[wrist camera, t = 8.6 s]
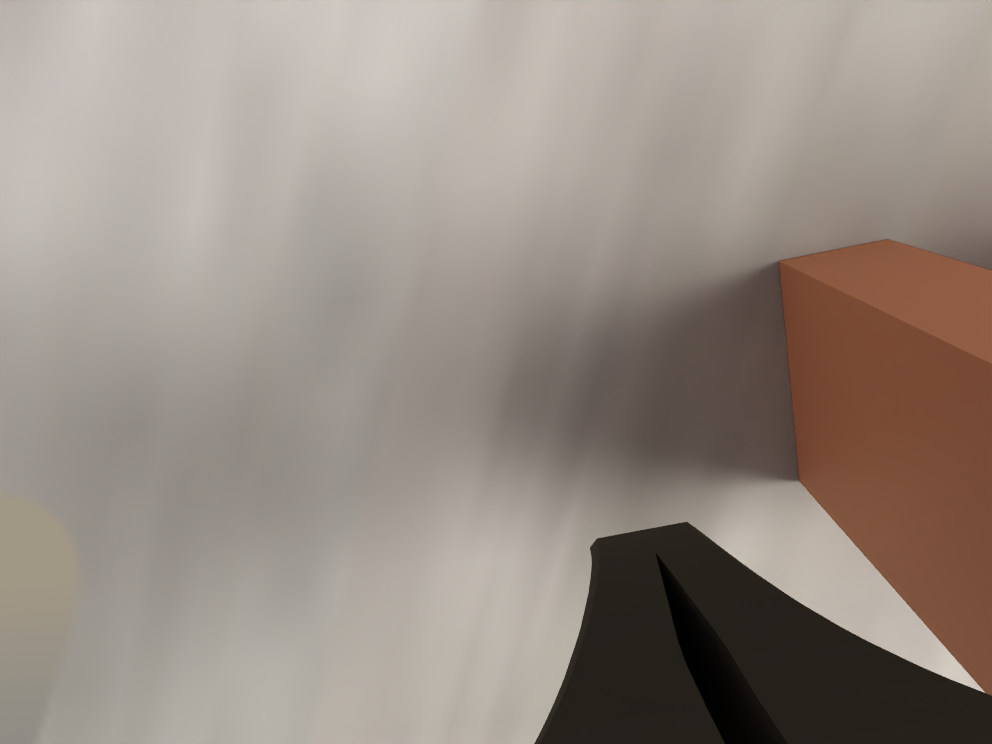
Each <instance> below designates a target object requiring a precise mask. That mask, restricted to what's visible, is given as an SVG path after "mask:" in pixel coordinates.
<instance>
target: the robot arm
mask: <svg viewBox="0 0 992 744" xmlns="http://www.w3.org/2000/svg"><path fill="white" fill-rule="evenodd" d="M590 550H591V556H592V571H591V580H590V587H589V594H588V598H587V603H586V607H585V611H584V616H583V620H582V625H581V629H580V632H579V636H578V639H577V642H576V645H575V648H574V651H573V654H572V657H571V660H570V663H569V666H568V669H567V672H566V675H565V678H564V680H563V683H562V685H561V688H560V690H559V693H558V695H557V698H556V700H555V702H554V705H553V707H552V709H551V711H550V713H549V715H548V718H547V720H546V722H545V724H544V726H543V728H542V730H541V732H540V734H539V736H538V738H537V740H536V742H535V744H992V696H991V695H989V694H986V693H984V692H981V691H978V690H976V689H973V688H971V687H968V686H966V685H963V684H960V683H958V682H955V681H953V680H950V679H948V678H945V677H943V676H941V675H938V674H936V673H934V672H931V671H929V670H927V669H924V668H922V667H920V666H918V665H916V664H914V663H911V662H909V661H907V660H905V659H903V658H901V657H899V656H897V655H895V654H893V653H891V652H889V651H886V650H884V649H882V648H880V647H878V646H876V645H874V644H872V643H870V642H868V641H866V640H864V639H862V638H860V637H858V636H856V635H855V634H853V633H851V632H849V631H847V630H845V629H843V628H842V627H840V626H838V625H836V624H835V623H833V622H831V621H830V620H828V619H826V618H824V617H823V616H821V615H819V614H818V613H816V612H814V611H813V610H811V609H809V608H807V607H806V606H804V605H802V604H801V603H799V602H798V601H796V600H794V599H793V598H791V597H790V596H788V595H787V594H785V593H784V592H782V591H781V590H779V589H778V588H777V587H775V586H774V585H772V584H771V583H769V582H768V581H766V580H765V579H763V578H762V577H760V576H759V575H757V574H756V573H755V572H753V571H752V570H751V569H749V568H748V567H746V566H745V565H744V564H742V563H741V562H740V561H738V560H737V559H736V558H734V557H733V556H732V555H730V554H729V553H728V552H726V551H725V550H724V549H722V548H721V547H720V546H718V545H717V544H716V543H715V542H713V541H712V540H711V539H709V538H708V537H707V536H705V535H704V534H703V533H702V532H700V531H699V530H698V529H696V528H695V527H693V526H692V525H691V524H689V523H688V522H684V523H678V524H673V525H667V526H662V527H657V528H651V529H646V530H641V531H635V532H630V533H624V534H619V535H614V536H608V537H603V538H598V539H596V541H595V542H594V543H593V545H592V546H591V547H590Z"/></svg>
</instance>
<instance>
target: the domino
mask: <svg viewBox="0 0 992 744" xmlns="http://www.w3.org/2000/svg"><path fill="white" fill-rule="evenodd" d="M779 267H780V278H781V288H782V299H783V310H784V320H785V331H786V342H787V352H788V363H789V374H790V384H791V395H792V406H793V416H794V427H795V438H796V448H797V459H798V470H799V480H800V482H801V484H802V485H803V486H804V487H805V488H806V489H807V490H808V492H809V493H810V494H811V495H812V496H813V497H814V498H815V500H816V501H817V502H818V503H819V504H820V505H821V506H822V507H823V509H824V510H825V511H826V512H827V513H828V514H829V515H830V517H831V518H832V519H833V520H834V521H835V522H836V523H837V525H838V526H839V527H840V528H841V529H842V530H843V531H844V532H845V534H846V535H847V536H848V537H849V538H850V539H851V540H852V542H853V543H854V544H855V545H856V546H857V547H858V548H859V550H860V551H861V552H862V553H863V554H864V555H865V556H866V557H867V559H868V560H869V561H870V562H871V563H872V564H873V565H874V567H875V568H876V569H877V570H878V571H879V572H880V573H881V575H882V576H883V577H884V578H885V579H886V580H887V581H888V582H889V584H890V585H891V586H892V587H893V588H894V589H895V590H896V592H897V593H898V594H899V595H900V596H901V597H902V598H903V600H904V601H905V602H906V603H907V604H908V605H909V606H910V607H911V609H912V610H913V611H914V612H915V613H916V614H917V615H918V617H919V618H920V619H921V620H922V621H923V622H924V623H925V625H926V626H927V627H928V628H929V629H930V630H931V631H932V632H933V634H934V635H935V636H936V637H937V638H938V639H939V640H940V642H941V643H942V644H943V645H944V646H945V647H946V648H947V650H948V651H949V652H950V653H951V654H952V655H953V656H954V657H955V659H956V660H957V661H958V662H959V663H960V664H961V665H962V667H963V668H964V669H965V670H966V671H967V672H968V673H969V675H970V676H971V677H972V678H973V679H974V680H975V681H976V682H977V684H978V685H979V686H980V687H981V688H982V689H983V690H984V692H985V693H986V694H989V695H991V696H992V270H988V269H985V268H982V267H978V266H975V265H972V264H968V263H965V262H962V261H958V260H955V259H952V258H949V257H945V256H942V255H939V254H935V253H932V252H929V251H925V250H922V249H919V248H915V247H912V246H909V245H905V244H902V243H899V242H896V241H892V240H889V239H886V240H881V241H876V242H871V243H866V244H861V245H856V246H851V247H846V248H841V249H836V250H831V251H826V252H821V253H816V254H811V255H806V256H801V257H796V258H791V259H786V260H782V261H779Z"/></svg>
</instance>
